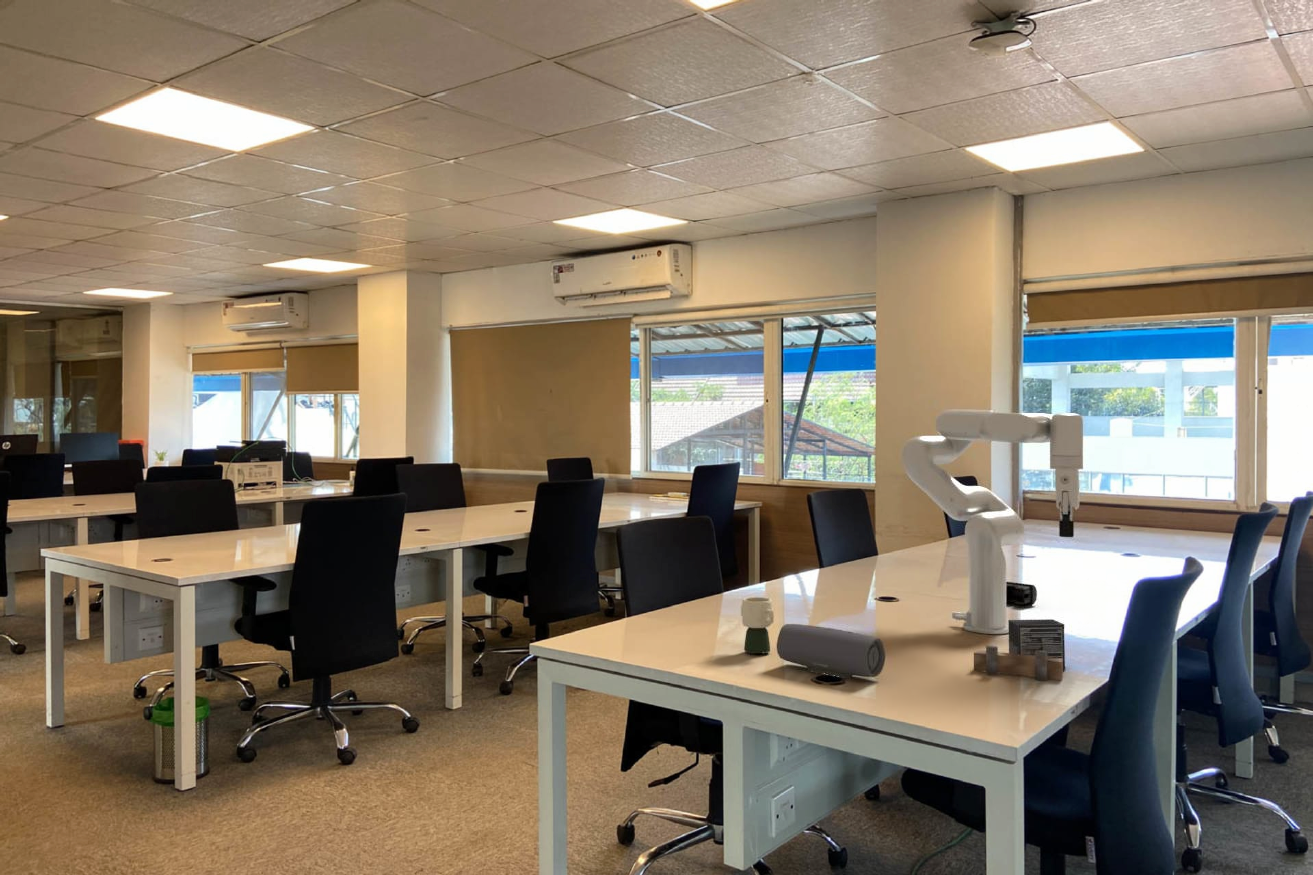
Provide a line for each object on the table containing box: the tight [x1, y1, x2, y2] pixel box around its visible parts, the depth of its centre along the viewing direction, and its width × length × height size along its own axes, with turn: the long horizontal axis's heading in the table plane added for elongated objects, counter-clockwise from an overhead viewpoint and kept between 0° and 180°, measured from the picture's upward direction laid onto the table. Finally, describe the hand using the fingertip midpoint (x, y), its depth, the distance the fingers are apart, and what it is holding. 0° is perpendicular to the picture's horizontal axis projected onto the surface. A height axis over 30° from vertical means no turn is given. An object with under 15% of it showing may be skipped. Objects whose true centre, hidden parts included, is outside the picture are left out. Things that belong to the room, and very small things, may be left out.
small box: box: [1007, 618, 1066, 672], centre depth 205 cm, size 11×6×10 cm, turn 90°
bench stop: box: [973, 645, 1064, 682], centre depth 199 cm, size 18×5×6 cm, turn 63°
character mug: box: [740, 596, 775, 655], centre depth 219 cm, size 11×7×13 cm, turn 37°
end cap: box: [1006, 581, 1038, 609], centre depth 279 cm, size 10×7×7 cm
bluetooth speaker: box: [776, 623, 886, 679], centre depth 201 cm, size 23×9×10 cm, turn 48°
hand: (1066, 536), depth 226 cm, fingers closed
